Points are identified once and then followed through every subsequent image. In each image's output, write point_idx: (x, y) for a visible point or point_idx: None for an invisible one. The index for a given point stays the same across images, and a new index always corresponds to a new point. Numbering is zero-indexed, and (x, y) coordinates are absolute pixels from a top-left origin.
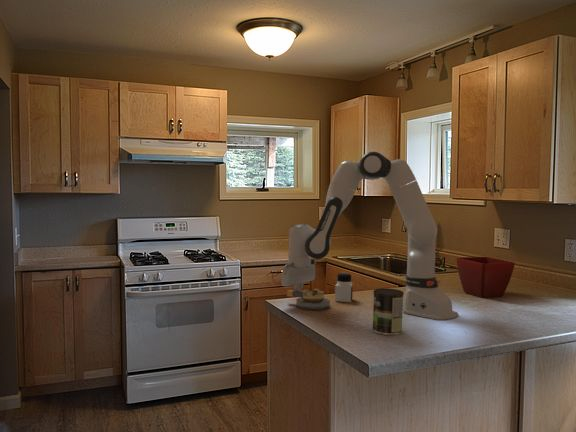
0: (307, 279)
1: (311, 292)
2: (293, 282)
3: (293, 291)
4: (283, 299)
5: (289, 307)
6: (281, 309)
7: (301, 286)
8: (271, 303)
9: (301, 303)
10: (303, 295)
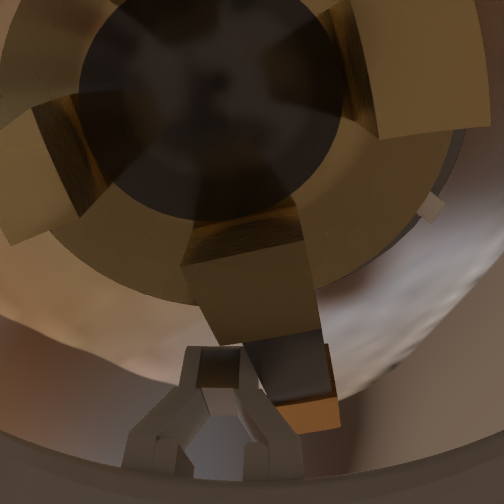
0: (32, 478)
1: (445, 17)
2: (480, 485)
3: (310, 396)
4: None
5: (429, 238)
6: (501, 244)
7: (170, 425)
8: (373, 376)
9: (459, 131)
10: (407, 201)
